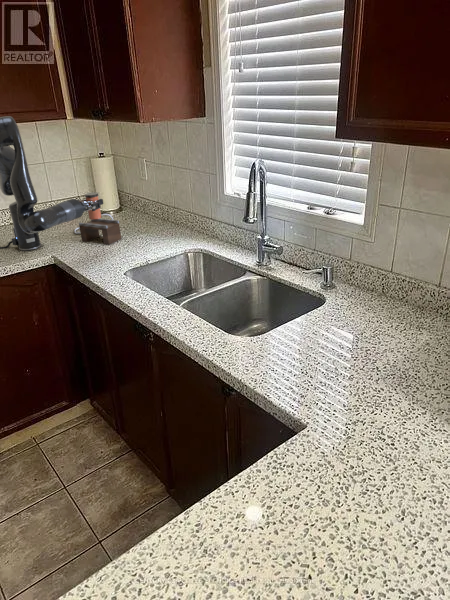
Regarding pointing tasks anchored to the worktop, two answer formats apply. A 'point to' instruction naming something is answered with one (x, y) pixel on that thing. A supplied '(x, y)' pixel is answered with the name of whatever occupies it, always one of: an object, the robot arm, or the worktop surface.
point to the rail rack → (107, 226)
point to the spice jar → (89, 197)
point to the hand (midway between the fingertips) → (96, 200)
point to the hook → (79, 228)
